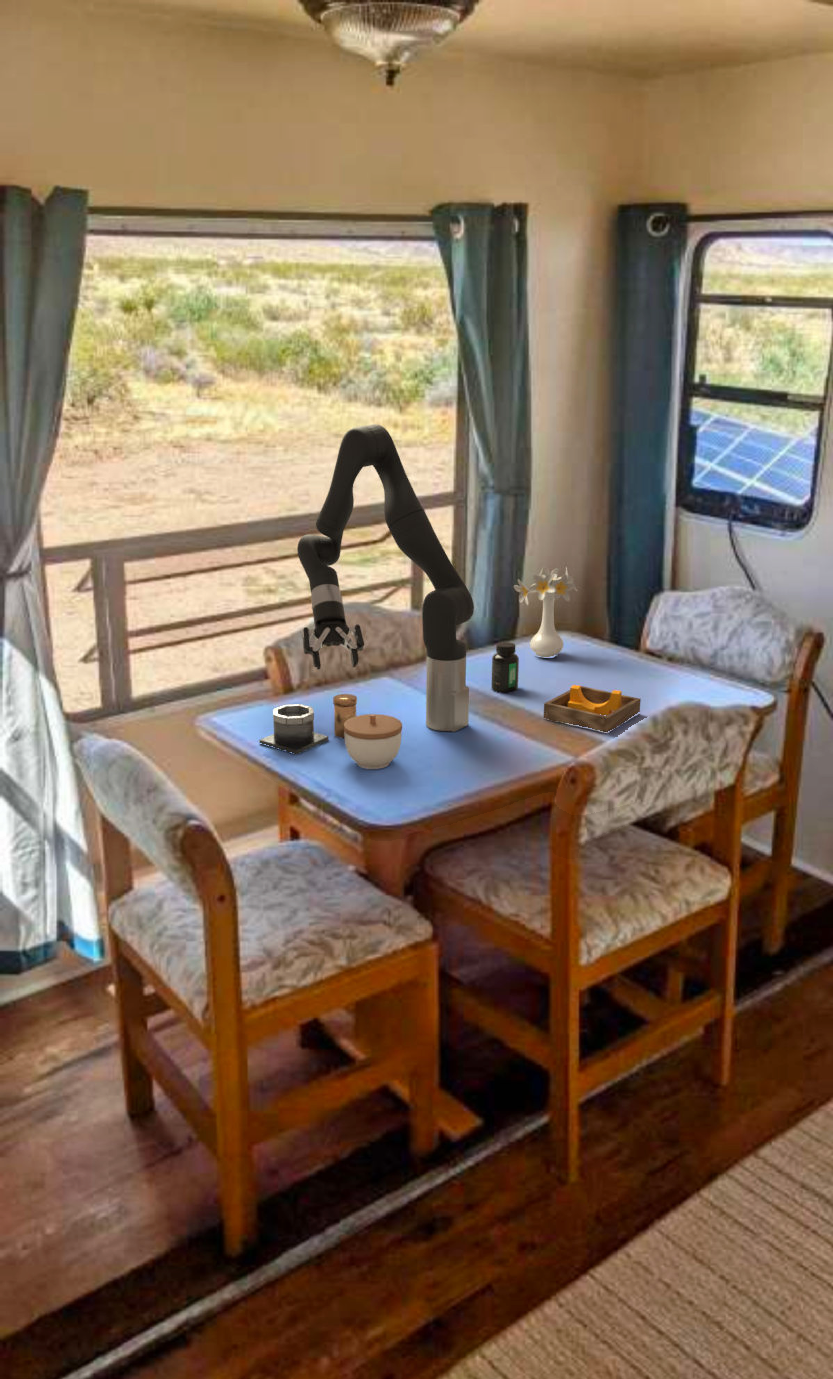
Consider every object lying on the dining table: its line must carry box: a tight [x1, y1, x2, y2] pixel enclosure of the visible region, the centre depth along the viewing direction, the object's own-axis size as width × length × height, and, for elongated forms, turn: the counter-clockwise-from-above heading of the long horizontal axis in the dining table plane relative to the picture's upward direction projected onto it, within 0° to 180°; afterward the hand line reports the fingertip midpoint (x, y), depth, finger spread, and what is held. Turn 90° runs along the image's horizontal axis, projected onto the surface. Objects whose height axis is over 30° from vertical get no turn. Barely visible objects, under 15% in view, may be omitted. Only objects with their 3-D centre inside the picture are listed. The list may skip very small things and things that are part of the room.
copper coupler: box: [332, 693, 358, 739], centre depth 278 cm, size 5×5×9 cm
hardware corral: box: [543, 685, 642, 732], centre depth 291 cm, size 17×17×4 cm
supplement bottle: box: [491, 641, 520, 694], centre depth 309 cm, size 7×7×12 cm
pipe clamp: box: [568, 684, 622, 716], centre depth 291 cm, size 12×4×6 cm, turn 68°
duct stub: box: [259, 703, 329, 755], centre depth 273 cm, size 11×11×8 cm
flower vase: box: [513, 566, 579, 657], centre depth 334 cm, size 13×18×25 cm
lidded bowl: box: [344, 713, 403, 770], centre depth 261 cm, size 13×13×11 cm
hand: (336, 666), depth 284 cm, fingers open, 8 cm apart
